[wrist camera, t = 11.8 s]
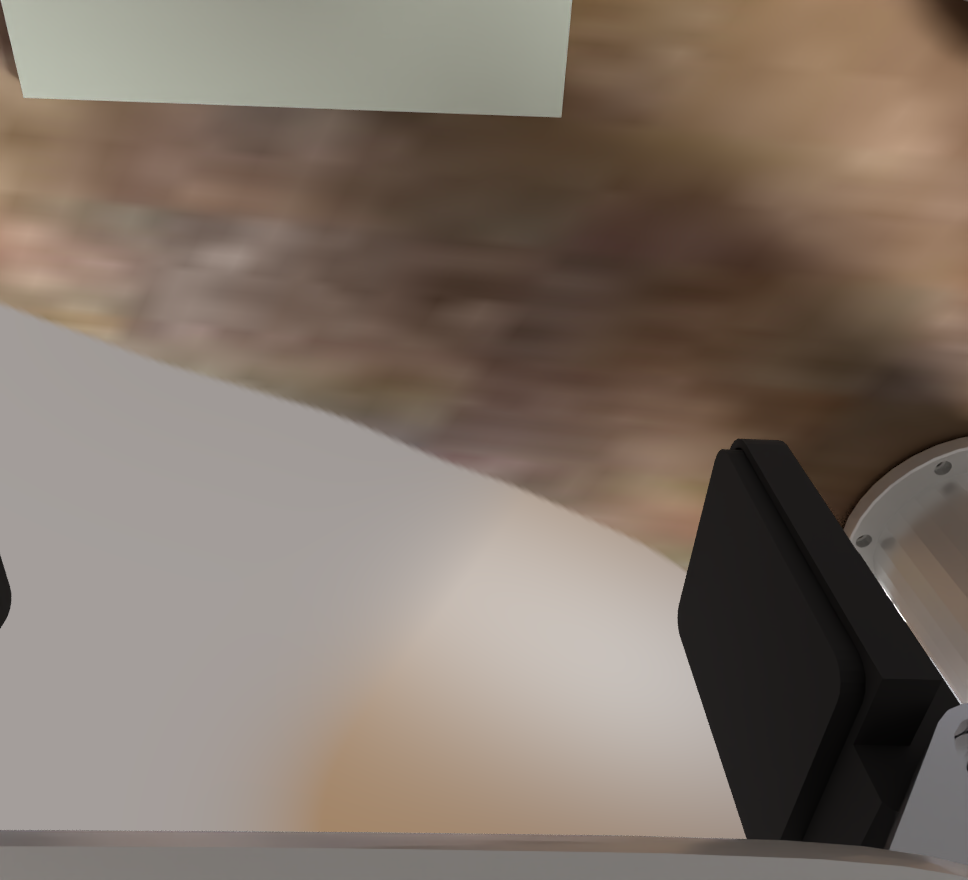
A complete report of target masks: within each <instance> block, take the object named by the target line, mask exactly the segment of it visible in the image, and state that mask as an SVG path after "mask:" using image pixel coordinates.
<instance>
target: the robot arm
mask: <svg viewBox="0 0 968 880" xmlns="http://www.w3.org/2000/svg"><path fill="white" fill-rule="evenodd" d="M10 605H11V590H10V586H9V582H8V579H7V576H6V572H5V569H4V566H3V563H2V559H1V556H0V628H1V626H2V625H3V623H4V621H5V620H6V618H7V616H8V613H9V610H10ZM906 622H907V624H908V625H909V627H910V628H911V630H912V631H913V633H914V634H915V635H916V637H917V638H918V640H919V641H920V643H921V644H922V646H923V647H924V649H925V650H926V652H927V653H928V654H929V656H930V657H931V659H932V660H933V662H934V663H935V665H936V666H937V668H938V669H939V670H940V672H941V673H942V675H943V676H944V678H945V679H946V681H947V682H948V684H949V685H950V687H951V688H952V689H953V691H954V693H955V694H956V695H957V697H958V698H959V700H960V701H961V703H962V704H961V705H960V703H959V702H958V701H957V699H956V698H955V696H954V694H953V693H952V692H951V690H950V689H949V687H948V685H947V684H946V682H945V681H944V679H943V678H942V676H941V675H940V673H939V672H938V670H937V669H936V667H935V666H934V665H933V663H932V661H931V660H930V658H929V657H928V655H927V654H926V652H925V651H924V649H923V648H922V646H921V645H920V643H919V642H918V640H917V639H916V637H915V636H914V634H913V633H912V631H911V630H910V628H909V627H908V625H907V624H906ZM678 629H679V634H680V637H681V640H682V643H683V646H684V649H685V653H686V656H687V659H688V662H689V665H690V668H691V671H692V674H693V677H694V680H695V683H696V686H697V689H698V692H699V695H700V698H701V701H702V704H703V707H704V710H705V713H706V716H707V719H708V722H709V725H710V729H711V731H712V734H713V738H714V740H715V743H716V747H717V750H718V752H719V756H720V759H721V762H722V765H723V768H724V771H725V774H726V777H727V780H728V783H729V786H730V789H731V792H732V795H733V798H734V801H735V804H736V808H737V811H738V814H739V817H740V820H741V823H742V825H743V829H744V832H745V835H746V838H747V839H723V838H689V837H656V836H611V835H609V836H608V835H605V836H604V835H534V834H531V835H530V834H527V835H526V834H451V833H450V834H449V833H371V832H368V833H367V832H364V833H363V832H247V831H244V832H243V831H242V832H241V831H239V832H237V831H93V830H91V831H89V830H0V880H968V437H963V438H958V439H955V440H952V441H948V442H945V443H942V444H939V445H936V446H934V447H931V448H929V449H927V450H925V451H923V452H920V453H918V454H916V455H914V456H912V457H911V458H909V459H908V460H906V461H904V462H903V463H901V464H900V465H898V466H896V467H895V468H893V469H892V470H891V471H889V472H888V473H887V474H886V475H885V476H883V477H882V478H881V479H880V480H879V481H877V482H876V483H875V484H874V485H873V486H872V487H871V488H870V489H869V491H868V492H867V493H866V494H865V495H864V496H863V497H862V498H861V499H860V501H859V502H858V504H857V505H856V507H855V508H854V510H853V511H852V513H851V514H850V516H849V517H848V520H847V522H846V525H845V527H844V529H842V527H841V526H840V524H839V523H838V521H837V520H836V518H835V517H834V515H833V514H832V512H831V511H830V509H829V508H828V506H827V505H826V503H825V502H824V500H823V499H822V497H821V496H820V494H819V493H818V491H817V490H816V488H815V487H814V485H813V484H812V482H811V481H810V479H809V478H808V476H807V475H806V473H805V472H804V470H803V469H802V467H801V465H800V464H799V462H798V461H797V459H796V458H795V456H794V455H793V453H792V452H791V450H790V449H789V447H788V446H787V445H786V444H785V443H784V442H783V441H779V440H756V439H737V440H735V441H734V443H733V444H732V446H731V448H730V450H726V449H722V450H720V451H719V452H718V454H717V456H716V459H715V462H714V466H713V470H712V474H711V478H710V482H709V486H708V490H707V494H706V498H705V502H704V506H703V510H702V514H701V518H700V522H699V526H698V530H697V535H696V539H695V543H694V547H693V551H692V555H691V559H690V563H689V567H688V571H687V575H686V579H685V583H684V587H683V591H682V595H681V599H680V603H679V608H678Z"/></svg>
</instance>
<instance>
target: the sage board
mask: <svg viewBox="0 0 968 880" xmlns="http://www.w3.org/2000/svg"><path fill="white" fill-rule="evenodd" d="M1 4H2V8H3V12H4V16H5V21H6V25H7V29H8V33H9V38H10V42H11V46H12V50H13V55H14V59H15V63H16V67H17V72H18V76H19V80H20V84H21V89H22V93H23V97H24V98H45V99H72V100H99V101H126V102H153V103H181V104H208V105H235V106H262V107H290V108H317V109H344V110H371V111H399V112H426V113H453V114H480V115H507V116H535V117H561V116H562V105H563V94H564V83H565V72H566V61H567V51H568V40H569V29H570V18H571V7H572V0H1Z"/></svg>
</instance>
